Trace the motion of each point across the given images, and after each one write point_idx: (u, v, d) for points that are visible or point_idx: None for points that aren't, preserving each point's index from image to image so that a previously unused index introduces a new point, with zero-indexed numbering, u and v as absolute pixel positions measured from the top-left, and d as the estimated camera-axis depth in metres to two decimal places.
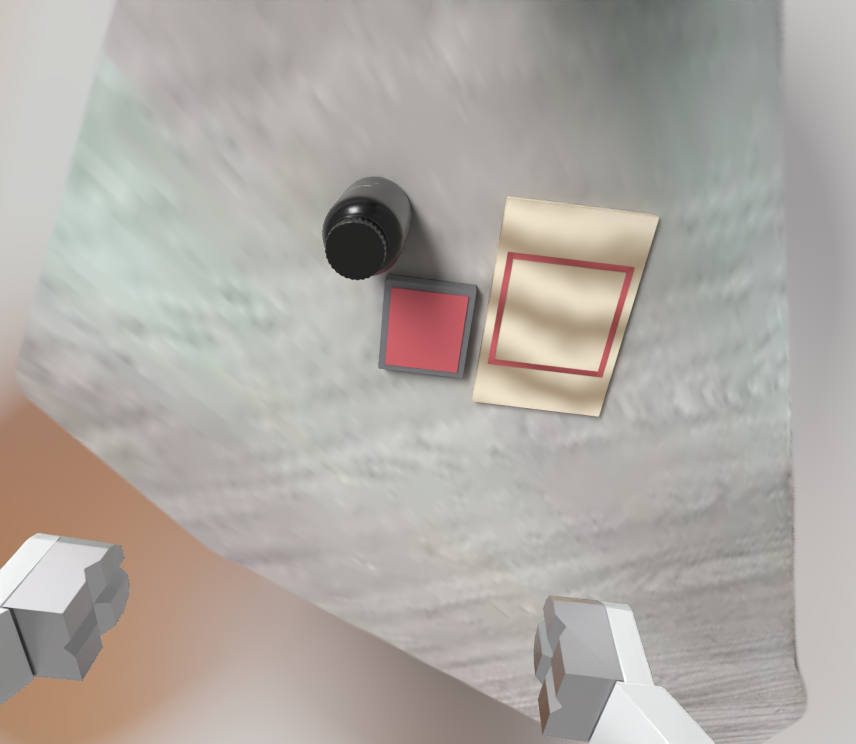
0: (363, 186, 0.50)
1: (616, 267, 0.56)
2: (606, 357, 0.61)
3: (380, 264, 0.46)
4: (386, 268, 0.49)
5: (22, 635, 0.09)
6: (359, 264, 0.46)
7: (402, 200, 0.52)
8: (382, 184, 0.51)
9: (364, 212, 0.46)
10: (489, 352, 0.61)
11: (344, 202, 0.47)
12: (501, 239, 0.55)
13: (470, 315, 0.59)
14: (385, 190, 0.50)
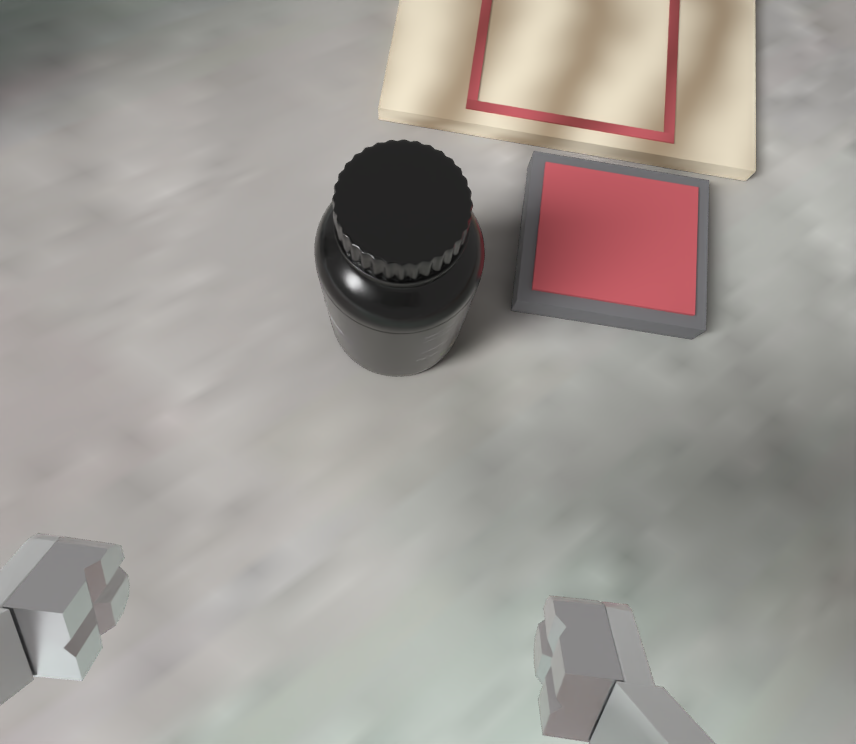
0: None
1: None
2: None
3: (434, 151, 0.20)
4: None
5: (22, 635, 0.09)
6: (434, 194, 0.20)
7: None
8: None
9: None
10: (650, 139, 0.34)
11: (321, 268, 0.22)
12: (445, 117, 0.33)
13: (581, 162, 0.33)
14: None
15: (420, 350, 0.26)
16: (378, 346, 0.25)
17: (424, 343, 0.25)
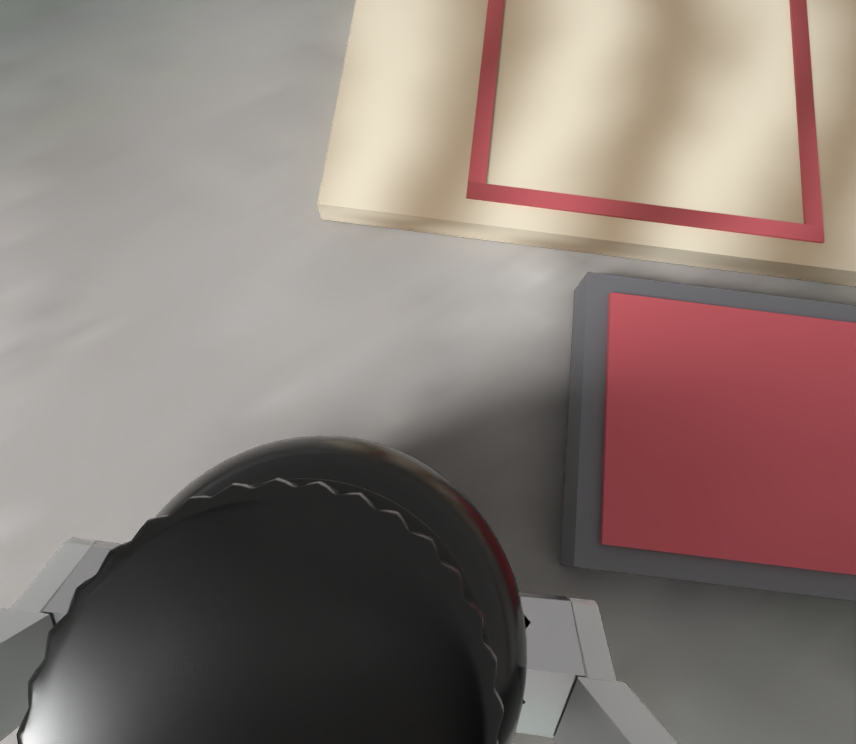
0: None
1: None
2: None
3: (373, 518, 0.06)
4: (472, 520, 0.09)
5: None
6: (371, 690, 0.06)
7: None
8: None
9: None
10: (783, 237, 0.20)
11: None
12: (431, 215, 0.20)
13: (671, 288, 0.19)
14: None
15: None
16: None
17: None
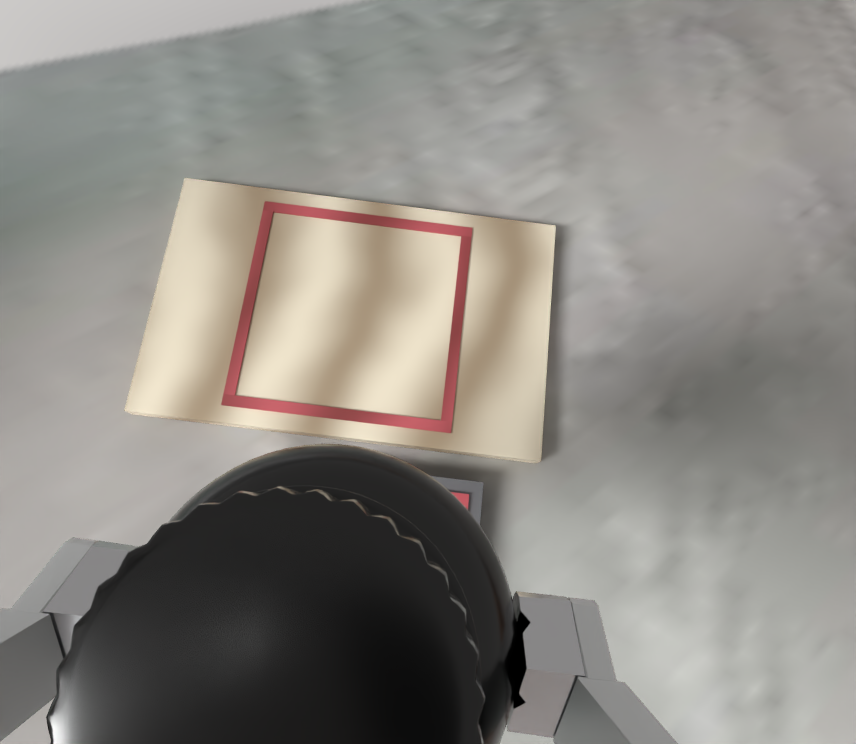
0: None
1: (264, 227, 0.34)
2: (431, 225, 0.34)
3: (366, 523, 0.07)
4: (465, 524, 0.10)
5: (61, 640, 0.09)
6: (363, 679, 0.06)
7: None
8: None
9: None
10: (424, 429, 0.31)
11: None
12: (197, 417, 0.31)
13: None
14: None
15: None
16: None
17: None
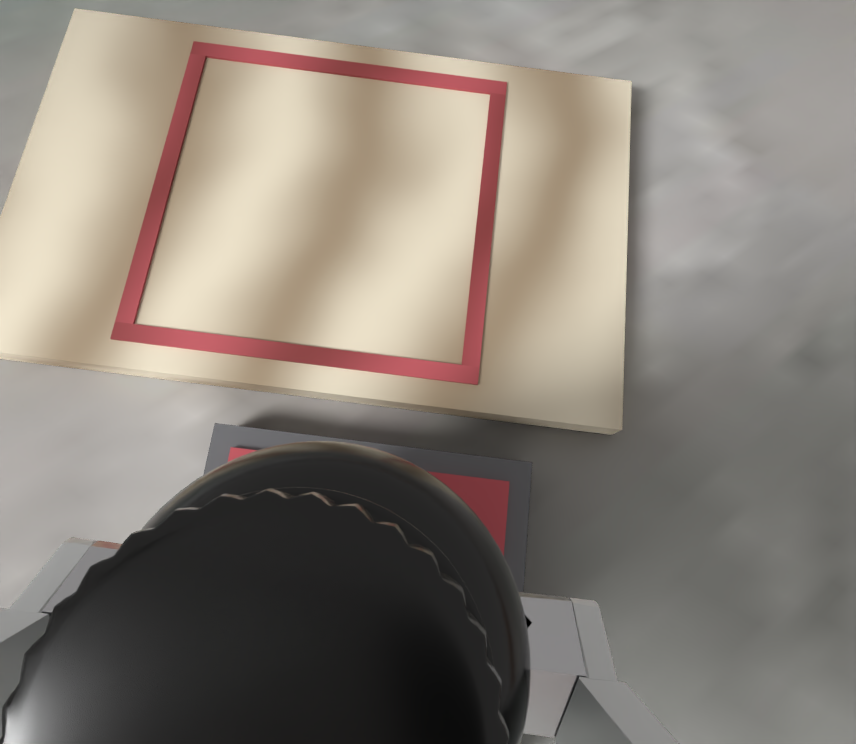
0: None
1: (192, 78, 0.22)
2: (445, 78, 0.23)
3: (371, 531, 0.06)
4: (474, 529, 0.09)
5: None
6: (368, 715, 0.05)
7: None
8: None
9: None
10: (435, 379, 0.19)
11: None
12: (72, 358, 0.19)
13: (299, 440, 0.18)
14: None
15: None
16: None
17: None
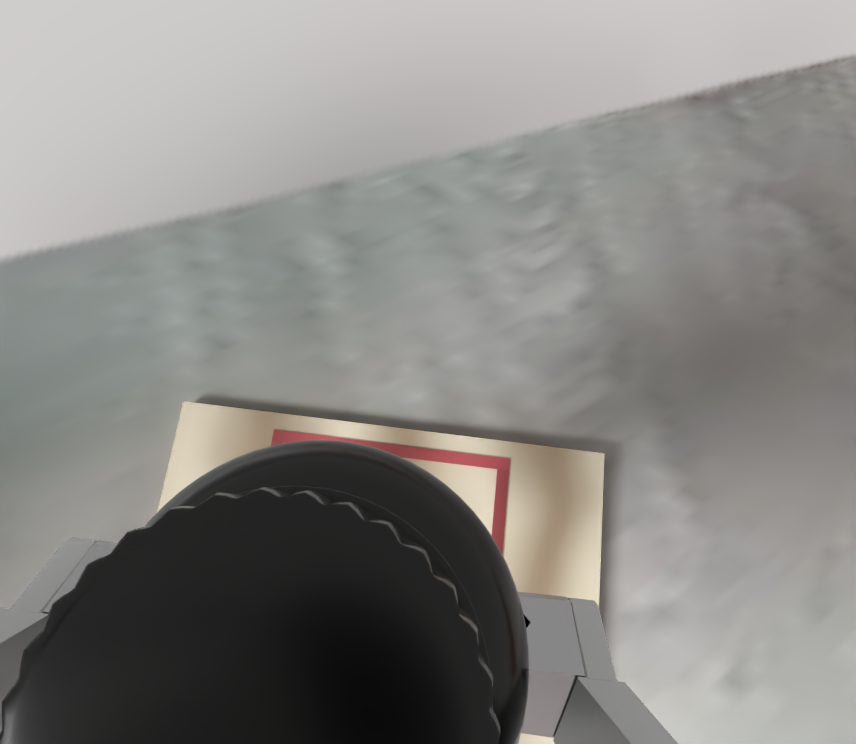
0: None
1: None
2: (463, 456, 0.30)
3: (363, 530, 0.06)
4: (471, 527, 0.09)
5: None
6: (360, 711, 0.06)
7: None
8: None
9: None
10: None
11: None
12: None
13: None
14: None
15: None
16: None
17: None
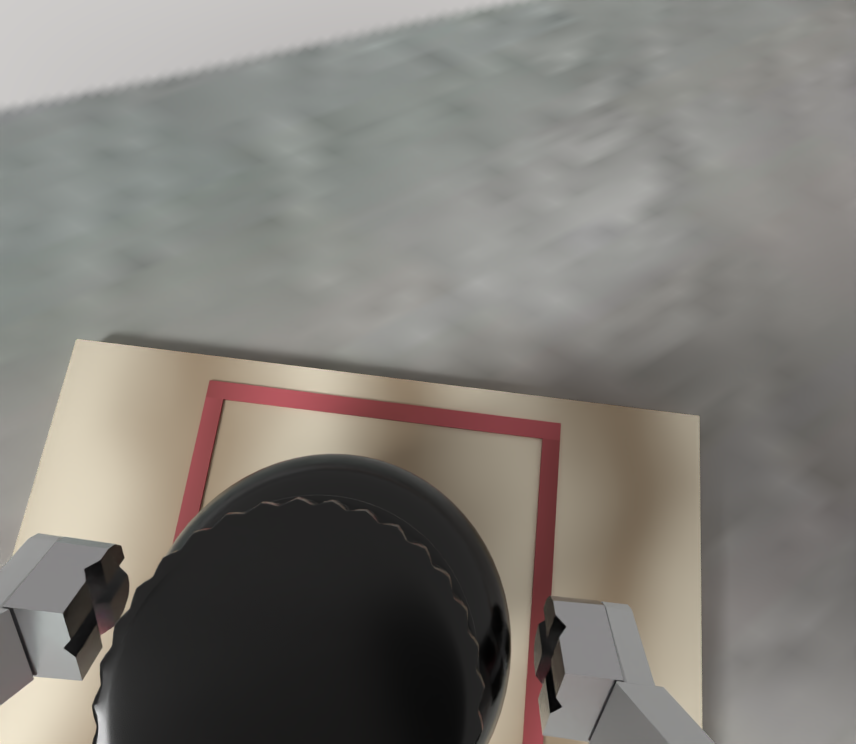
0: None
1: (208, 428, 0.20)
2: (492, 419, 0.20)
3: (378, 531, 0.08)
4: (463, 528, 0.11)
5: (22, 635, 0.09)
6: (376, 670, 0.07)
7: None
8: None
9: None
10: None
11: None
12: None
13: None
14: None
15: None
16: None
17: None
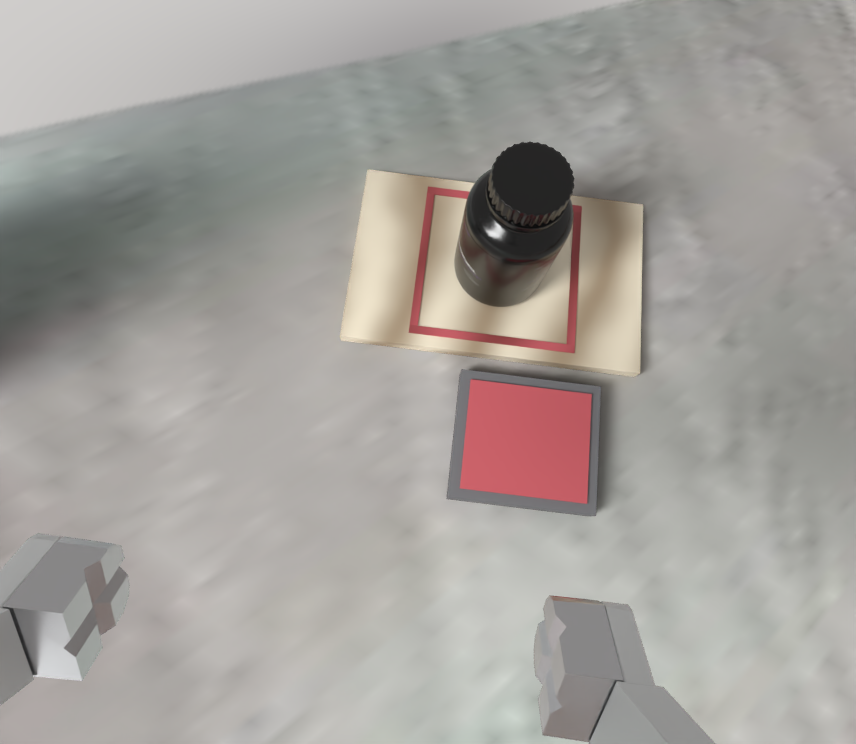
0: (459, 241, 0.40)
1: (429, 205, 0.46)
2: None
3: (549, 148, 0.33)
4: None
5: (22, 635, 0.09)
6: (551, 173, 0.33)
7: None
8: None
9: (484, 193, 0.35)
10: (555, 350, 0.43)
11: (473, 224, 0.36)
12: (392, 341, 0.42)
13: (499, 376, 0.42)
14: None
15: (528, 280, 0.39)
16: (502, 277, 0.38)
17: (533, 274, 0.38)
